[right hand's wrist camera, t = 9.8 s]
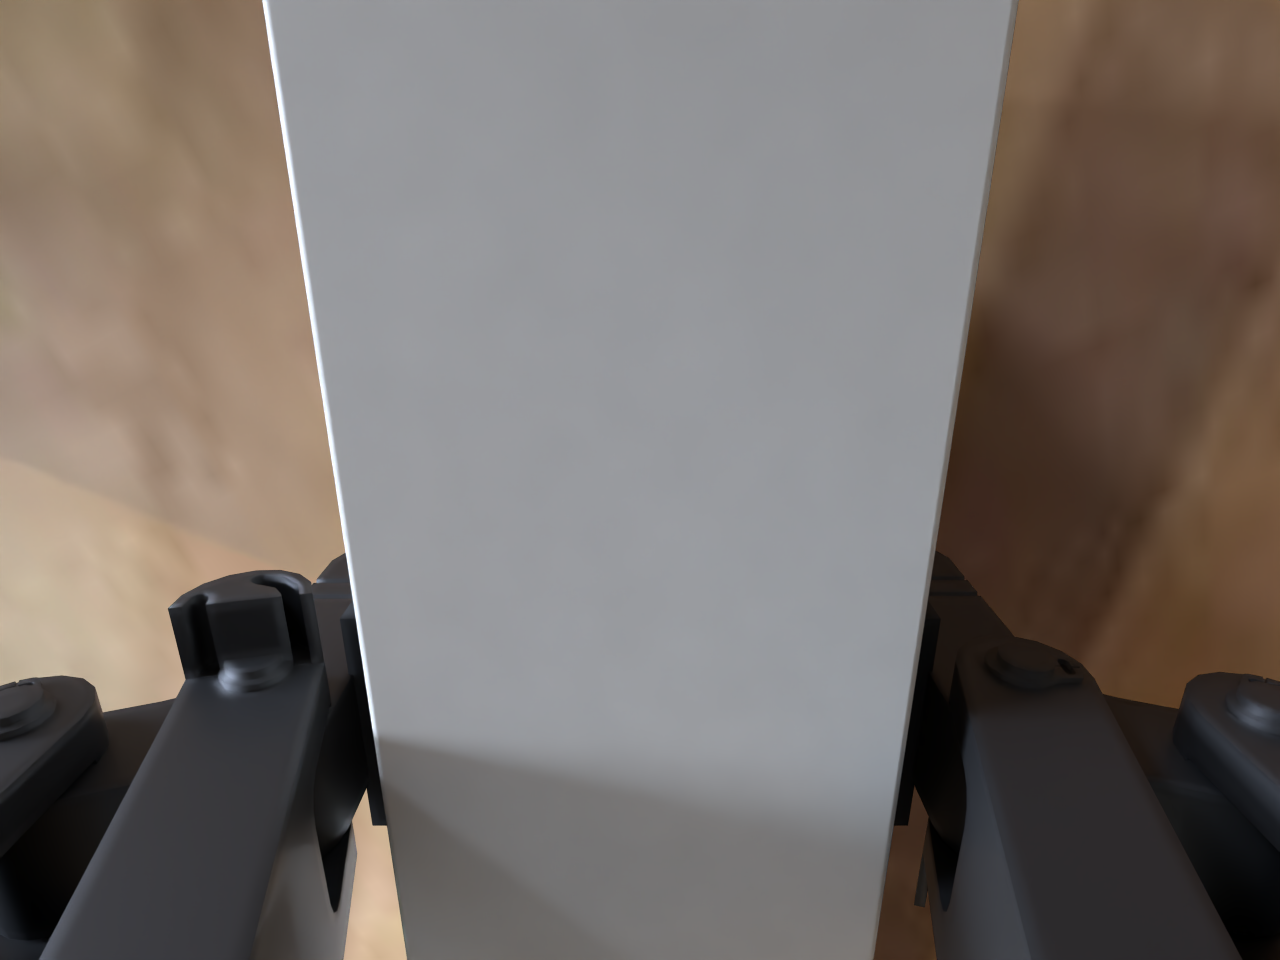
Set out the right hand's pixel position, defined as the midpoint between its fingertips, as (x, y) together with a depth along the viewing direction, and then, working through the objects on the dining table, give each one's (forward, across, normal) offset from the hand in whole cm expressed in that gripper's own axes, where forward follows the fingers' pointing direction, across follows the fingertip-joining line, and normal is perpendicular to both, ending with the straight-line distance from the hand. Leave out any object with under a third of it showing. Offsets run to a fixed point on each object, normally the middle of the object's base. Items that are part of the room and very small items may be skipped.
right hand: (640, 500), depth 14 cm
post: (+1, 0, -22) cm, 22 cm away
